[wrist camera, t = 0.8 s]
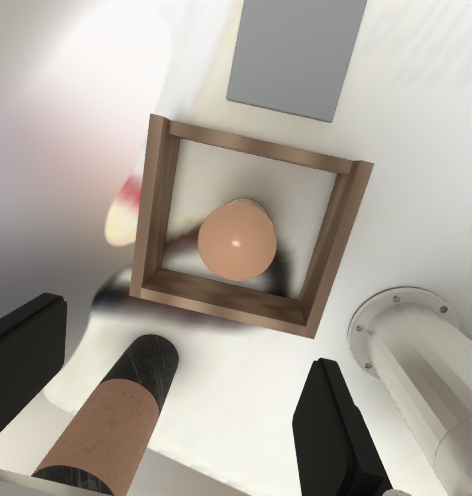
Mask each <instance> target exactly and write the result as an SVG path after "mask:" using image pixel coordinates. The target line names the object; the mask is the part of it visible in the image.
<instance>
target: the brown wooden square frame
mask: <svg viewBox="0 0 472 496" xmlns="http://www.w3.org/2000/svg"><path fill="white" fill-rule="evenodd" d="M180 138H182V139H186V140H191V141H195V142H200V143H204V144H208V145H213V146H217V147H222V148H226V149H231V150H235V151H240V152H244V153H249V154H253V155H258V156H262V157H267V158H271V159H275V160H280V161H284V162H289V163H293V164H298V165H302V166H307V167H311V168H316V169H320V170H325V171H329V172H334V173H338V174H337V177H336V181H335V184H334V187H333V190H332V194H331V197H330V200H329V203H328V206H327V210H326V213H325V216H324V219H323V223H322V226H321V229H320V232H319V236H318V239H317V242H316V245H315V248H314V252H313V255H312V258H311V261H310V265H309V268H308V271H307V274H306V277H305V281H304V284H303V287H302V290H301V294H300V297H299V300H294V299H290V298H285V297H281V296H277V295H273V294H268V293H264V292H260V291H255V290H251V289H247V288H243V287H238V286H234V285H230V284H226V283H221V282H217V281H213V280H208V279H204V278H200V277H196V276H191V275H187V274H183V273H179V272H174V271H170V270H166V269H161V265H162V258H163V252H164V245H165V238H166V231H167V224H168V218H169V211H170V204H171V197H172V190H173V184H174V177H175V170H176V163H177V156H178V150H179V143H180ZM373 166H374V163H370V162H366V161H361V160H360V161H351V160H346V159H342V158H337V157H333V156H328V155H324V154H319V153H315V152H310V151H306V150H301V149H297V148H292V147H288V146H283V145H279V144H274V143H270V142H265V141H261V140H256V139H252V138H247V137H243V136H238V135H234V134H229V133H225V132H220V131H216V130H211V129H207V128H202V127H198V126H193V125H189V124H185V123H180V122H176V121H171V120H169V119H167V118H165V117H163V116H159V115H154V114H150V120H149V129H148V138H147V146H146V155H145V164H144V173H143V181H142V190H141V199H140V207H139V216H138V225H137V233H136V242H135V251H134V259H133V268H132V277H131V285H130V294H129V296H134V297H138V298H142V299H146V300H151V301H155V302H159V303H163V304H167V305H172V306H176V307H180V308H184V309H189V310H193V311H197V312H201V313H206V314H210V315H214V316H218V317H222V318H227V319H231V320H235V321H239V322H244V323H248V324H252V325H256V326H260V327H265V328H269V329H273V330H277V331H282V332H286V333H290V334H294V335H299V336H303V337H307V338H311V339H314V338H315V335H316V332H317V329H318V326H319V323H320V320H321V317H322V314H323V311H324V309H325V306H326V303H327V300H328V297H329V294H330V291H331V288H332V285H333V282H334V279H335V276H336V274H337V271H338V268H339V265H340V262H341V259H342V256H343V253H344V250H345V247H346V244H347V242H348V239H349V236H350V233H351V230H352V227H353V224H354V221H355V218H356V215H357V212H358V209H359V207H360V204H361V201H362V198H363V195H364V192H365V189H366V186H367V183H368V180H369V177H370V174H371V172H372V169H373Z"/></svg>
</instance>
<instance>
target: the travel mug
mask: <svg viewBox="0 0 472 496" xmlns="http://www.w3.org/2000/svg"><path fill="white" fill-rule="evenodd" d="M177 366H178V354H177V351H176V349H175V347H174V346H173V345H172V344H171V343H170V342H169V341H168V340H166V339H165V338H163V337H160V336H157V335H144V336H141V337H139V338H137V339H136V340H135V341H134V342H133V343H132V344H131V345H130V346H129V347H128V349H127V350H126V351H125V352H124V354H123V355H122V356H121V357H120V358H119V360H118V361H117V362H116V363H115V365H114V366H113V367H112V368H111V370H110V371H109V372H108V373H107V375H106V376H105V377H104V378H103V380H102V381H101V382H100V383H99V385H98V386H97V387H96V389H95V390H94V391H93V392H92V394H91V395H90V396H89V398H88V399H87V401H86V402H85V403H84V405H83V406H82V407H81V409H80V410H79V411H78V413H77V414H76V416H75V417H74V418H73V420H72V421H71V422H70V424H69V425H68V427H67V428H66V429H65V431H64V432H63V433H62V435H61V436H60V437H59V439H58V440H57V441H56V443H55V444H54V446H53V447H52V448H51V450H50V451H49V452H48V454H47V455H46V456H45V458H44V459H43V460H42V462H41V463H40V465H39V466H38V467H37V469H36V470H35V471H34V473H33V474H32V475H31V477H35V478H39V479H44V480H48V481H52V482H57V483H61V484H65V485H69V486H73V487H78V488H82V489H86V490H90V491H94V492H98V493H103V494H107V495H111V496H126V495H127V492H128V490H129V488H130V485H131V483H132V480H133V478H134V476H135V473H136V471H137V468H138V466H139V463H140V461H141V459H142V457H143V454H144V452H145V449H146V447H147V445H148V442H149V440H150V438H151V435H152V433H153V430H154V428H155V426H156V423H157V421H158V418H159V416H160V413H161V410H162V407H163V405H164V402H165V399H166V397H167V394H168V391H169V388H170V386H171V383H172V380H173V378H174V375H175V372H176V369H177Z"/></svg>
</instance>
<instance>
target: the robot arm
mask: <svg viewBox="0 0 472 496" xmlns="http://www.w3.org/2000/svg"><path fill="white" fill-rule="evenodd" d="M66 318H67V302H66V301H64V299H63V297H62V296H59V295H55V294H51V293H43V294H41V295H39V296H38V297H36V298H34V299H33V300H31V301H29V302H28V303H26V304H24V305H23V306H21V307H19V308H18V309H16V310H14V311H13V312H11V313H9V314H7V315H6V316H4V317H2V318H1V319H0V432H1V431H2V430H3V429H4V428H5V427H6V426H7V425H8V424H9V423H10V422H11V421H12V420H13V419H14V418H15V417H16V415H18V413H20V411H21V410H22V409H23V408H24V407H25V406H26V405H27V404H28V403H29V402H30V401H31V400H32V399H33V398H34V397H35V396H36V395H37V394H38V393H39V392H40V391H41V390H42V389H43V388H44V387H45V386H46V385H47V383H48V382H49V381H50V380H51V379H52V378H53V377H54V376H55V375H56V374H57V373H58V372H59V371H60V370H61V368H62V366H63V364H64V357H65V337H66ZM348 343H349V347H350V350H351V352H352V355H353V357H354V358H355V360H356V362H357V363H358V365H359V366H360V367H361V368H362V369H363V370H365V371H366V372H368V373H369V374H371V375H372V376H374V377H377V378H379V379H381V380H382V382H383V383H384V385H385V387H386V389H387V390H388V392H389V394H390V395H391V397H392V399H393V401H394V402H395V404H396V406H397V408H398V409H399V411H400V413H401V415H402V416H403V418H404V420H405V421H406V423H407V425H408V427H409V428H410V430H411V432H412V434H413V435H414V437H415V439H416V441H417V442H418V444H419V446H420V447H421V449H422V451H423V453H424V454H425V456H426V458H427V460H428V461H429V463H430V465H431V467H432V468H433V470H434V472H435V473H436V475H437V477H438V479H439V480H440V482H441V484H442V486H443V487H444V489H445V491H446V492H447V494H448V496H472V341H471V340H470V339H469V338H468V337H466V336H465V335H464V334H463V333H461V332H460V324H459V320H458V318H457V315H456V313H455V312H454V310H453V309H452V308H451V306H450V305H449V304H447V303H446V302H445V301H444V300H443V299H441V298H440V297H438V296H437V295H435V294H433V293H431V292H428V291H426V290H422V289H418V288H397V289H392V290H388V291H385V292H382V293H380V294H378V295H376V296H374V297H373V298H371V299H370V300H368V301H367V302H366V303H365V304H363V305H362V306H361V307H360V308H359V310H358V311H357V312H356V314H355V315H354V317H353V319H352V321H351V324H350V327H349V331H348ZM292 428H293V435H294V442H295V449H296V456H297V464H298V471H299V478H300V485H301V493H302V496H411V495H410V494H408V493H405V492H403V491H401V490H396V489H393V487H392V485H391V483H390V480H389V478H388V476H387V473H386V471H385V469H384V466H383V464H382V461H381V459H380V457H379V454H378V452H377V450H376V447H375V445H374V443H373V440H372V438H371V436H370V433H369V431H368V428H367V426H366V424H365V421H364V419H363V417H362V414H361V412H360V410H359V408H358V407H357V406H356V405H355V404H354V402H353V399H352V397H351V395H350V392H349V390H348V387H347V385H346V383H345V380H344V378H343V375H342V373H341V370H340V368H339V366H338V363H337V362H336V361H333V360H329V359H325V358H319V360H318V361H313V363H312V366H311V369H310V371H309V374H308V377H307V380H306V382H305V385H304V388H303V391H302V393H301V396H300V399H299V401H298V404H297V407H296V410H295V412H294V415H293V421H292ZM0 496H111V495H107V494H103V493H98V492H94V491H90V490H86V489H82V488H78V487H73V486H69V485H65V484H61V483H57V482H52V481H48V480H44V479H39V478H35V477H31V476H26V475H22V474H18V473H14V472H9V471H5V470H1V469H0Z"/></svg>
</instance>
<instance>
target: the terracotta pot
mask: <svg viewBox="0 0 472 496" xmlns="http://www.w3.org/2000/svg"><path fill="white" fill-rule="evenodd" d="M276 246H277V241H276V234H275V230H274V227H273V225H272V223H271V221H270V220H269V218H268V216H267V214H266V212H265V210H264V209H263V207H262V206H261V205H260V204H258V203H257V202H255V201H253V200H250V199H244V198H241V199H236V200H233V201H231V202H229V203H228V204H226V205H223V206H221V207H219V208H217V209H216V210H215V211H213V212H212V213H211V214H210V215H209V216H208V217H207V218H206V219H205V221H204V222H203V224H202V226H201V228H200V231H199V235H198V248H199V252H200V255H201V258H202V260H203V261H204V263H205V264H206V266H207V267H208V268H209V269H210V270H211V271H212V272H213V273H215V274H216V275H218V276H220V277H222V278H225V279H228V280H233V281H243V280H248V279H251V278H254V277H256V276H258V275H260V274H261V273H262V272H264V271H265V270H266V269H267V268H268V267H269V265H270V264H271V262H272V260H273V258H274V256H275V253H276Z"/></svg>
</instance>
